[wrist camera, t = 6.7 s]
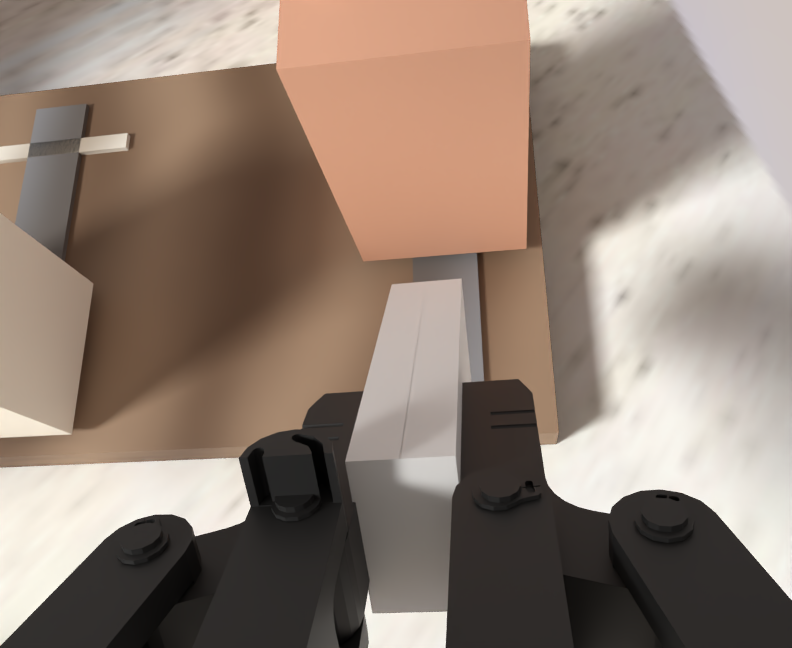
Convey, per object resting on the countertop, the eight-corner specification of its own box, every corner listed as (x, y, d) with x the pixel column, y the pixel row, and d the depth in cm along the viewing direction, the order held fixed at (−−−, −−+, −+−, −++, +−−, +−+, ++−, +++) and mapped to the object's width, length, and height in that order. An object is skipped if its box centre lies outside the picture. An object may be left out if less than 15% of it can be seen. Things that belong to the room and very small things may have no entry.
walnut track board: (-47, 469, 25) (-87, 460, 24) (21, 121, 30) (-8, 92, 29) (556, 443, 22) (558, 431, 21) (522, 65, 27) (522, 30, 26)
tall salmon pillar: (363, 261, 23) (271, 59, 15) (364, 125, 25) (281, -126, 16) (526, 249, 23) (530, 28, 14) (515, 110, 24) (512, -161, 16)
